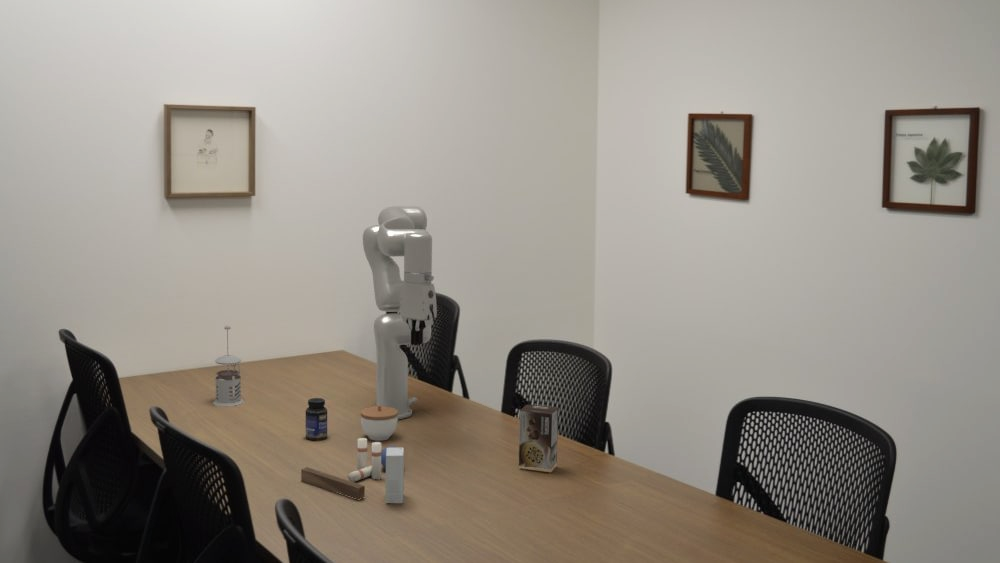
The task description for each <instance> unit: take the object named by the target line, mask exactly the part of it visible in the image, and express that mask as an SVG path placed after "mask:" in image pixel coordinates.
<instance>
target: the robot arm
mask: <svg viewBox="0 0 1000 563" xmlns="http://www.w3.org/2000/svg"><path fill="white" fill-rule="evenodd" d="M377 221H378V222H377V223H378V224H374V225H370V226H368V227H366V228H365V229H364V230H363V233H362V246H363V251H364V254H365V258H366V260H367V262H368V265H369V266H370V270H371V274H372V282H373V290H374V298H375V299H374V300H375V304H376V307H377V309H378V310H379V311H381V312H386V313H385V314H381V315H379V316H377V317H376V318H375V320H374V322H373V334H374V339H375V348H376V381H375V382H376V386H375V388H376V389H375V390H376V391H375V392H376V398H375V399H376V400H375V401H376V403H375V404H376V405H375V406H378V405H381V406H386V407H392V408H395V409H397V410H398V420H402V419H407V418H409V417H411V416H412V415H413V410H412V409H411V408H410V406H411V405H414V404H416V403H417V402H418V398H416V396H414V397H411V398H409V397H408V371H409V370H408V366H409V364H408V363H409V362H408V357H407V355H406V353H405V352H404V351H403V349H401V347H400V346H402V345H412V346H419V345H422V344H425V343H428V342H429V341H430V339H431V337H432V326H433V325H434V320H435V319H437V315H438V314H437V313H438V311H437V309H438V308H437V294H436V287H435V284H434V283H432V281H434V278H435V277H434V276H433V275H432V273H433V267H432V266H433V264H432V263H433V237H432V235H431V234H430V233H429V231H427V226H428V218H427V214H426V212H425V210H424V209H423V208H422V207H420V206H410V205H409V206H397V205H396V206H388V207H385V208H383V209H382V210H381V211H380V213H379V214H378V217H377ZM392 257H404V258H403V280H402V279H401V278H402V277H401V273H400V267H399V266H398V264H397V262H396V261H395V260H394V259H393V258H392ZM387 312H389V313H387ZM390 312H391V313H390ZM392 312H393V313H392ZM394 312H395V313H394ZM397 312H398V313H397Z"/></svg>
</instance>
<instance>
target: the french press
mask: <svg viewBox="0 0 1000 563" xmlns="http://www.w3.org/2000/svg"><path fill="white" fill-rule="evenodd" d="M224 330H226V338H227V340H226V342H227V347H226V348H227V354H226V355H222V356H219V357H217V358H216V359H215V360H214V362H215V364H217V365H223V366H224V365H227V366H231V367H234V368H233V370H232V369H223V370H219V371H217V372H216V375H217V376H215V400H214V401H213V402H212V405H214V406H216V407H223V406H229V407H235V406H234V405H237V406H240V405H239V404H241V403H243V402H244V403H245V400H244V399H243V398H242V394H241V393H242V390H241V389H242V382H241V381H242V379H241V378H242V377H241V376H242V375H241V366H240V363H241V362H242V359H241V358H240V357H238V356H236V355H232V354H231V355H230V354H229V330H231V326H230V325H225V326H224ZM237 365H238V370H236V366H237ZM243 400H244V401H243ZM244 403H243V404H244ZM241 405H242V404H241Z"/></svg>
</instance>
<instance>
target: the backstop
mask: <svg viewBox="0 0 1000 563" xmlns="http://www.w3.org/2000/svg"><path fill="white" fill-rule="evenodd" d="M300 475H301V478H300V479H301V482H303V483H307V484H310V485H313V486H316V487H319V488H321V487H322V489H324V490H327V489H328V490H327V491H330V490H331V491H330V492H333V491H335V492H338V493H341V494H343V495H342V496H344V495H347V496H350V497H353V498H356V499H360V498H363V497H365V496H366V494H365V493H366V492H365V490H366V489H365V488H366V487H365V485H363V484H360V483H356V482H351V481H350V480H349V479H348V480H347V479H345V478H341V477H339V476H335V475H332V474H330V473H327V472H324V471H320V470H317V469H314V468H311V467H309V466H307V467H303V468H301V474H300ZM335 492H334V493H335ZM338 493H337V494H338ZM341 494H340V495H341ZM347 496H346V497H347ZM350 497H349V498H350ZM353 498H352V499H353ZM356 499H355V500H356ZM363 499H364V498H363Z"/></svg>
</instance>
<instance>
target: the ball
mask: <svg viewBox="0 0 1000 563" xmlns="http://www.w3.org/2000/svg"><path fill="white" fill-rule="evenodd" d="M387 448H398V447H396V446H388V447H386V448H384V449H383V450H381V451H382V455H381V466H382V467H383V468H384V469H386V449H387Z"/></svg>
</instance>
